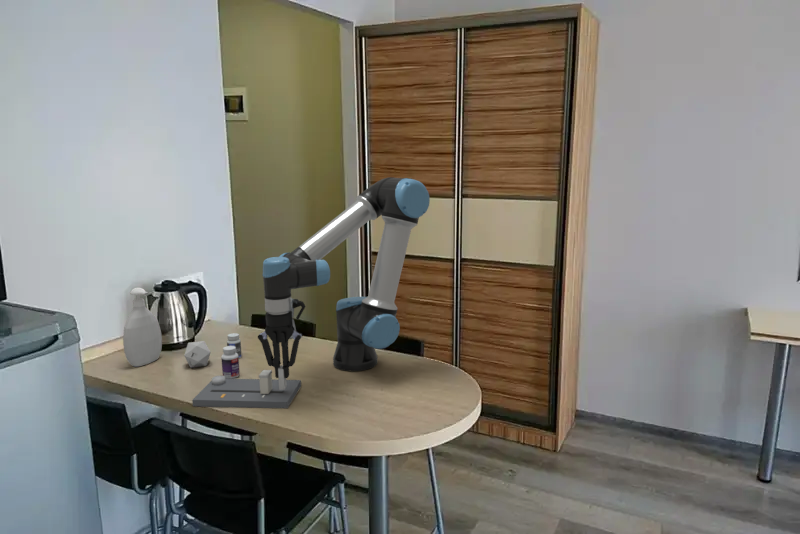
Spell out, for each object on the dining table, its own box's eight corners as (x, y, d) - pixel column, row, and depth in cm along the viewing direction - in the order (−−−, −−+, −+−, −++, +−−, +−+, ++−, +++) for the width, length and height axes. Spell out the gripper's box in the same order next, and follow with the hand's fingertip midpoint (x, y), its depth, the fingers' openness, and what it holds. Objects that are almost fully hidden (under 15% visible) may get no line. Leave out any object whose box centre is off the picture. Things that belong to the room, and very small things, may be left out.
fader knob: (272, 388, 178) (271, 370, 177) (268, 394, 174) (267, 375, 173) (264, 388, 179) (263, 369, 177) (260, 393, 175) (258, 375, 173)
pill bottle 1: (229, 360, 208) (227, 337, 207) (226, 356, 212) (225, 334, 211) (243, 358, 210) (241, 335, 209) (240, 354, 215) (238, 331, 213)
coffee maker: (266, 339, 231) (263, 294, 227) (274, 332, 239) (272, 288, 236) (303, 340, 228) (300, 295, 225) (310, 333, 237) (308, 289, 233)
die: (179, 367, 205) (177, 351, 197) (194, 348, 211) (192, 331, 204) (202, 376, 204) (200, 360, 197) (215, 357, 210) (215, 340, 203)
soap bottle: (136, 372, 199) (127, 294, 193) (120, 368, 203) (111, 291, 197) (171, 358, 211) (164, 284, 206) (156, 354, 215) (148, 282, 210)
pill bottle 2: (235, 379, 191) (233, 351, 189) (219, 378, 192) (217, 350, 190) (242, 373, 197) (240, 345, 195) (227, 372, 198) (225, 344, 196)
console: (301, 386, 186) (300, 375, 185) (287, 408, 170) (286, 396, 169) (214, 384, 188) (213, 373, 187) (192, 406, 172) (191, 394, 172)
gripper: (304, 307, 174) (307, 383, 179) (260, 307, 175) (265, 382, 180) (297, 315, 167) (301, 393, 172) (252, 314, 168) (257, 392, 173)
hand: (283, 387), depth 176 cm, fingers closed
